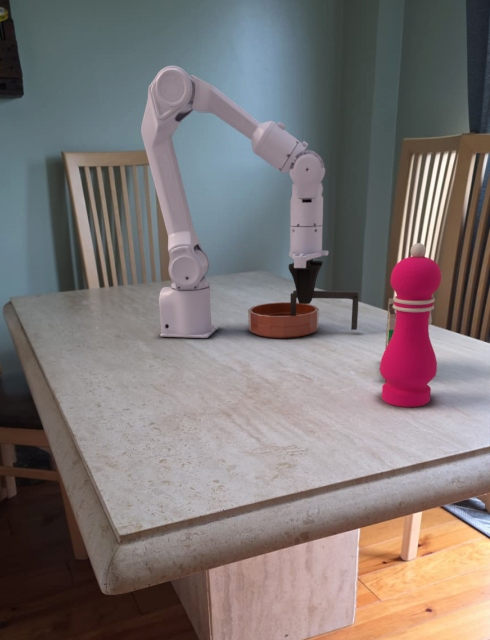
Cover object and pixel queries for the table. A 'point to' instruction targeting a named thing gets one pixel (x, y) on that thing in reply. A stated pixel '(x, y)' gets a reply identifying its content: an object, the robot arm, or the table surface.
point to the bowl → (283, 320)
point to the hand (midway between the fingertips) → (305, 302)
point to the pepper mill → (411, 332)
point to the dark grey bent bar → (334, 295)
